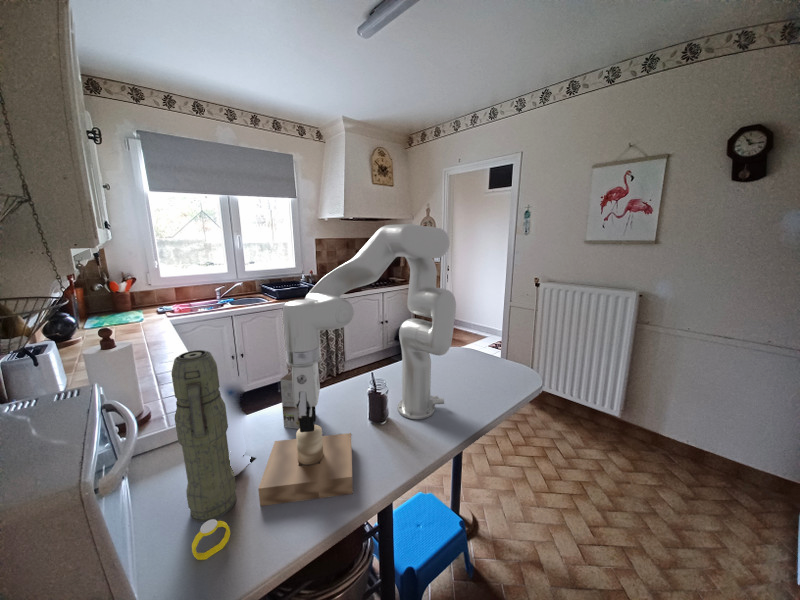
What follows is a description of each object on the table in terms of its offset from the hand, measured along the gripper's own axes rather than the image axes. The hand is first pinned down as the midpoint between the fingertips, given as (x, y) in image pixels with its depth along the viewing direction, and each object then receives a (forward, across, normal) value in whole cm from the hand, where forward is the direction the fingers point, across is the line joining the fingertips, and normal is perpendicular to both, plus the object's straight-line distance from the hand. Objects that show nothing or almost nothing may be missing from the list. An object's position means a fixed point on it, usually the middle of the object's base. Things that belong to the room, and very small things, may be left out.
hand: (308, 425), depth 74 cm
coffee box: (+13, +24, +6) cm, 28 cm away
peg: (+13, 0, 0) cm, 13 cm away
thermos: (+13, -6, +20) cm, 25 cm away
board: (+13, 0, 0) cm, 13 cm away
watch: (+13, -17, +16) cm, 27 cm away
